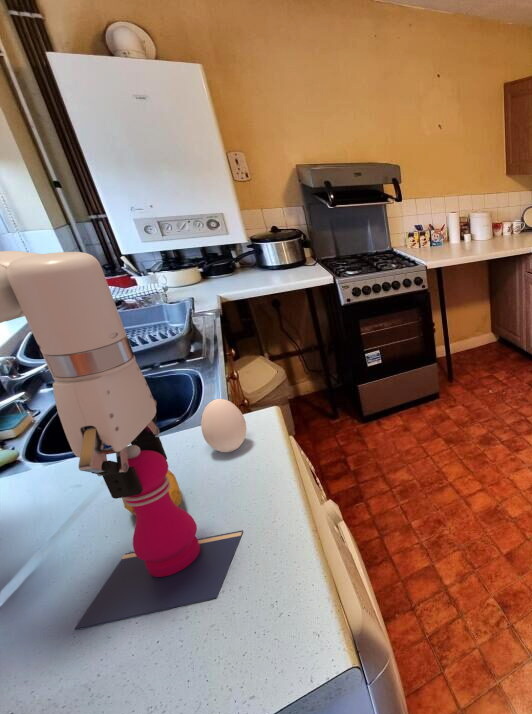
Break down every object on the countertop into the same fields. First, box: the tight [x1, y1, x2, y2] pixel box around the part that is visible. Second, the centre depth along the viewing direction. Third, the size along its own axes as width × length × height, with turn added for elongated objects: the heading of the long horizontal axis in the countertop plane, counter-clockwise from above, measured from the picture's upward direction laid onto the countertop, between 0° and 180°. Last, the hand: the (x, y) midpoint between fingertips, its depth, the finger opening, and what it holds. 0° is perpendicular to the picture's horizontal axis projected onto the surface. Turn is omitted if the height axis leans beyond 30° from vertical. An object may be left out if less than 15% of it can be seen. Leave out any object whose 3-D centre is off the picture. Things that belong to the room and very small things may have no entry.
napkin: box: [73, 529, 244, 631], centre depth 62 cm, size 16×12×1 cm
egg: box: [200, 398, 248, 453], centre depth 88 cm, size 7×7×12 cm
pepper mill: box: [122, 444, 200, 577], centre depth 61 cm, size 7×7×20 cm
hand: (141, 477), depth 59 cm, fingers closed on pepper mill, 6 cm apart
